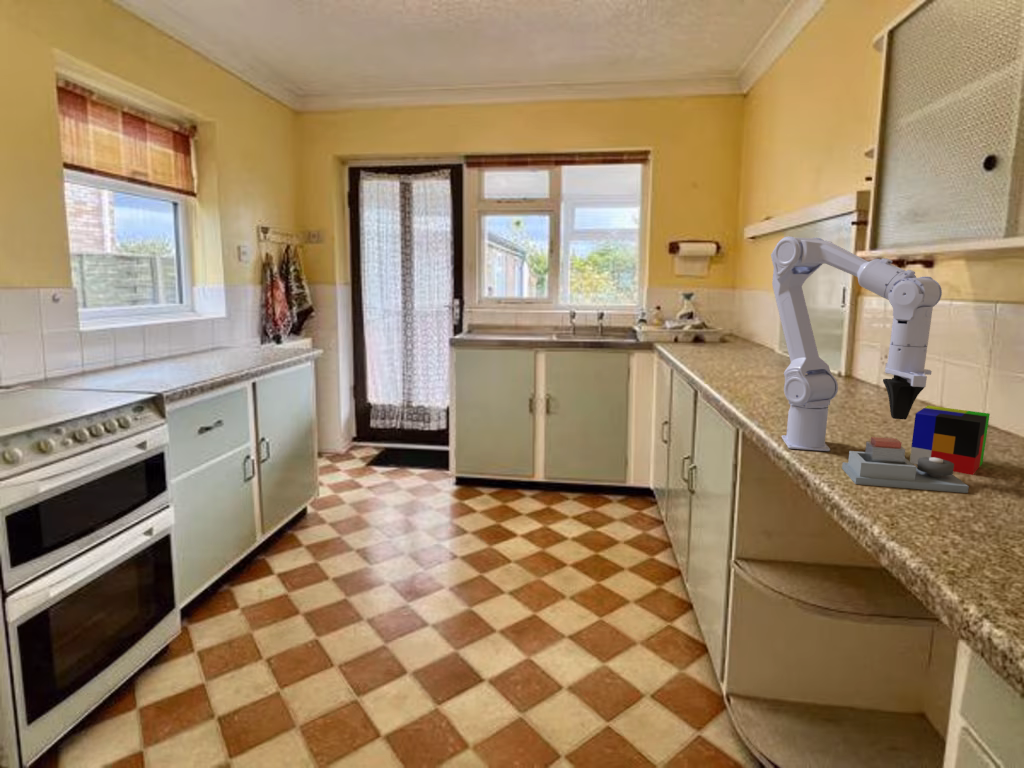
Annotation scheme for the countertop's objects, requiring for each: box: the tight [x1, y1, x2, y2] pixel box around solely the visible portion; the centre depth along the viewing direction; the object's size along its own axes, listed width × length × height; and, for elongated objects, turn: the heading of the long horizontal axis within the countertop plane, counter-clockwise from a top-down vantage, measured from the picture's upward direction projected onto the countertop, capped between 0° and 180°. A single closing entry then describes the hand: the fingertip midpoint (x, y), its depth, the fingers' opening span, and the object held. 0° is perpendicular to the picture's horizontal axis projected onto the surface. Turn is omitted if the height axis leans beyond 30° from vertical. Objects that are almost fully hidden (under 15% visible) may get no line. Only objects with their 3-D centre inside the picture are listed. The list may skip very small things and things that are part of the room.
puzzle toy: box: [909, 405, 990, 476], centre depth 117 cm, size 10×10×10 cm
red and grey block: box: [864, 436, 906, 464], centre depth 108 cm, size 4×5×6 cm
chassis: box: [841, 450, 970, 494], centre depth 108 cm, size 9×17×4 cm, turn 75°
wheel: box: [916, 457, 954, 475], centre depth 106 cm, size 5×5×2 cm
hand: (898, 418), depth 112 cm, fingers closed
